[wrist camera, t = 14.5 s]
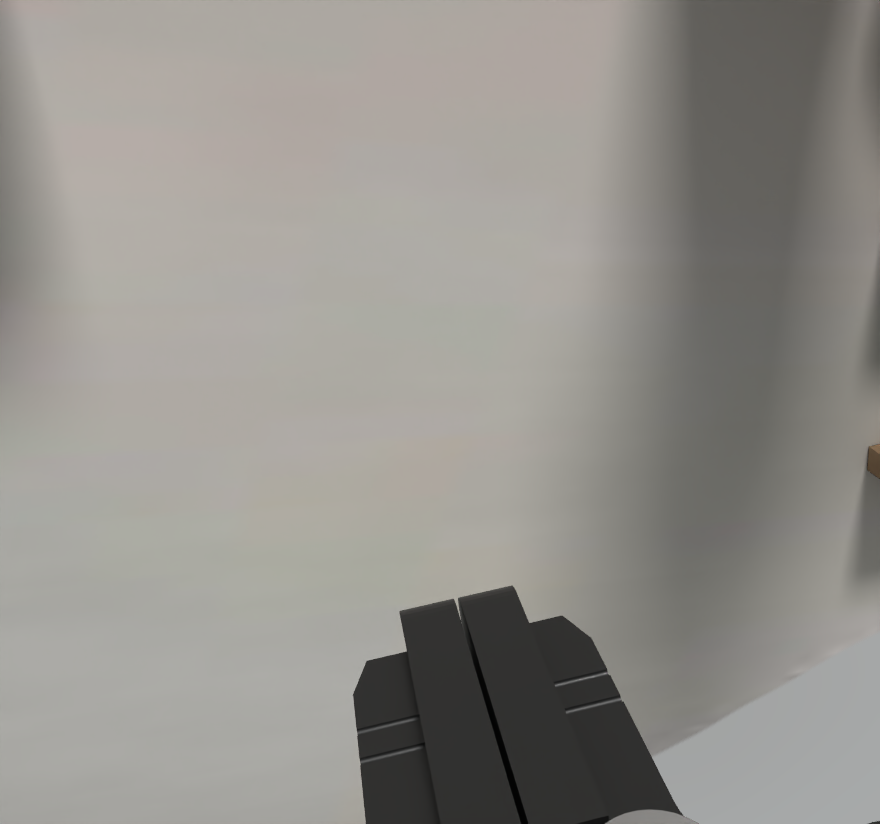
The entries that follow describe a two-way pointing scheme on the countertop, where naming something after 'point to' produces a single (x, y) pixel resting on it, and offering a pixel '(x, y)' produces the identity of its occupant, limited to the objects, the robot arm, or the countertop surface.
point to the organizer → (874, 460)
